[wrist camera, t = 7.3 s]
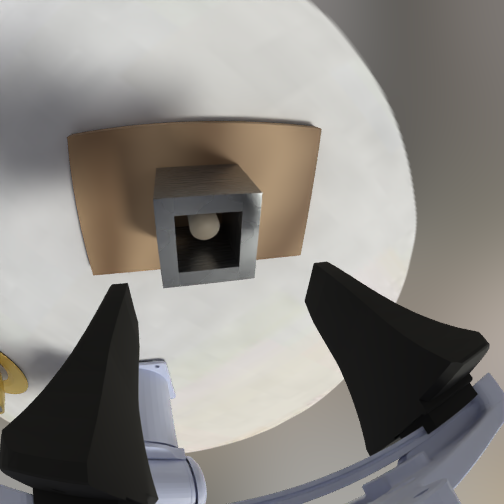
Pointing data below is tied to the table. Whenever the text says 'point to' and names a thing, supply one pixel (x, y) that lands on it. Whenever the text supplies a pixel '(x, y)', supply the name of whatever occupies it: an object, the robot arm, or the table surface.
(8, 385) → the cup
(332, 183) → the table surface
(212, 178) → the grey hollow cube
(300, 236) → the keeper board
